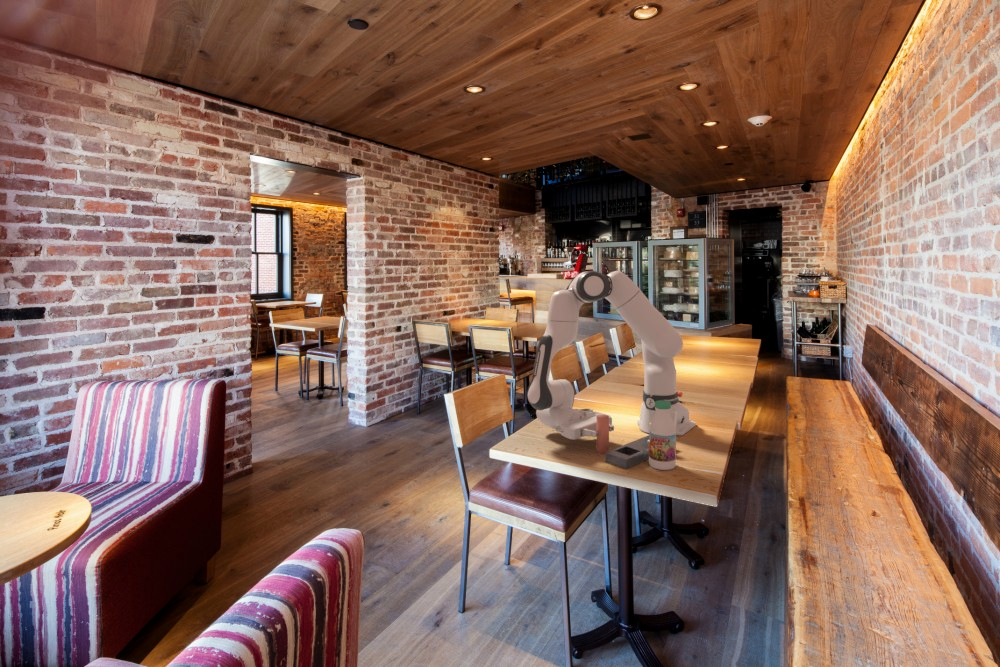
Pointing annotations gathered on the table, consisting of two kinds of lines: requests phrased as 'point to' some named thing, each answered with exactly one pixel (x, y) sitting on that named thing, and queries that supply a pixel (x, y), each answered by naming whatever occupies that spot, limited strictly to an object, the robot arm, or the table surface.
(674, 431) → the milk bottle
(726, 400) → the table surface
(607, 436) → the red peg
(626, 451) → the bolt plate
